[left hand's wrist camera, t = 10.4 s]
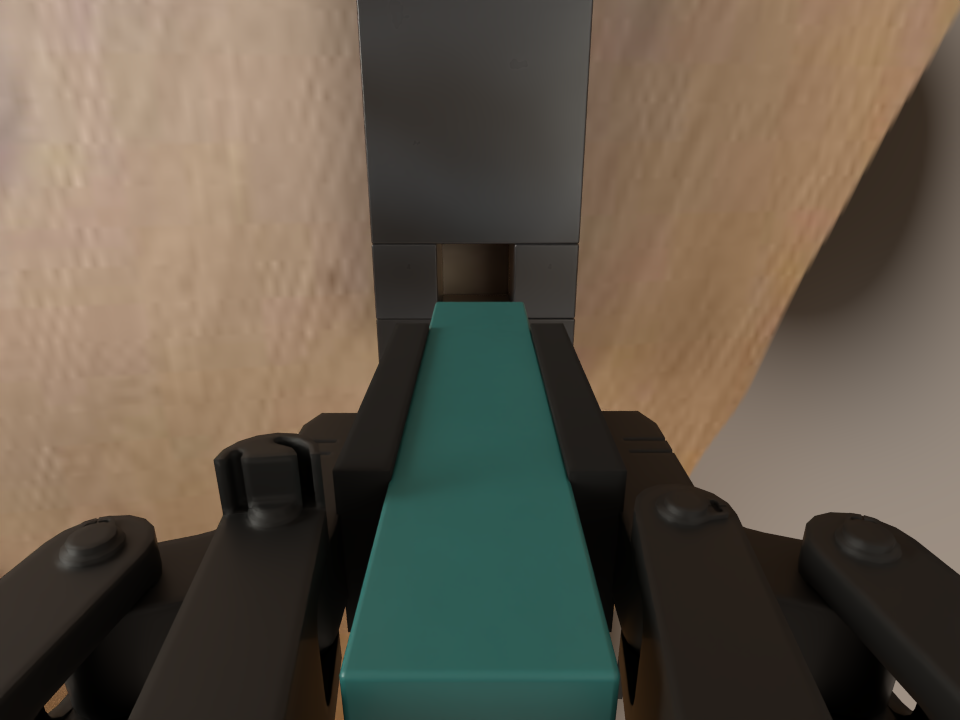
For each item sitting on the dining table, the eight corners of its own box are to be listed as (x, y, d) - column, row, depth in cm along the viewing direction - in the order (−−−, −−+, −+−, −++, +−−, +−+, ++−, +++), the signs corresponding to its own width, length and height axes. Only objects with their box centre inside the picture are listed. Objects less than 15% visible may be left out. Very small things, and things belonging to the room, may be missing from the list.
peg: (522, 383, 17) (602, 860, 6) (437, 383, 17) (356, 860, 6) (524, 301, 16) (622, 676, 5) (435, 301, 16) (336, 676, 5)
